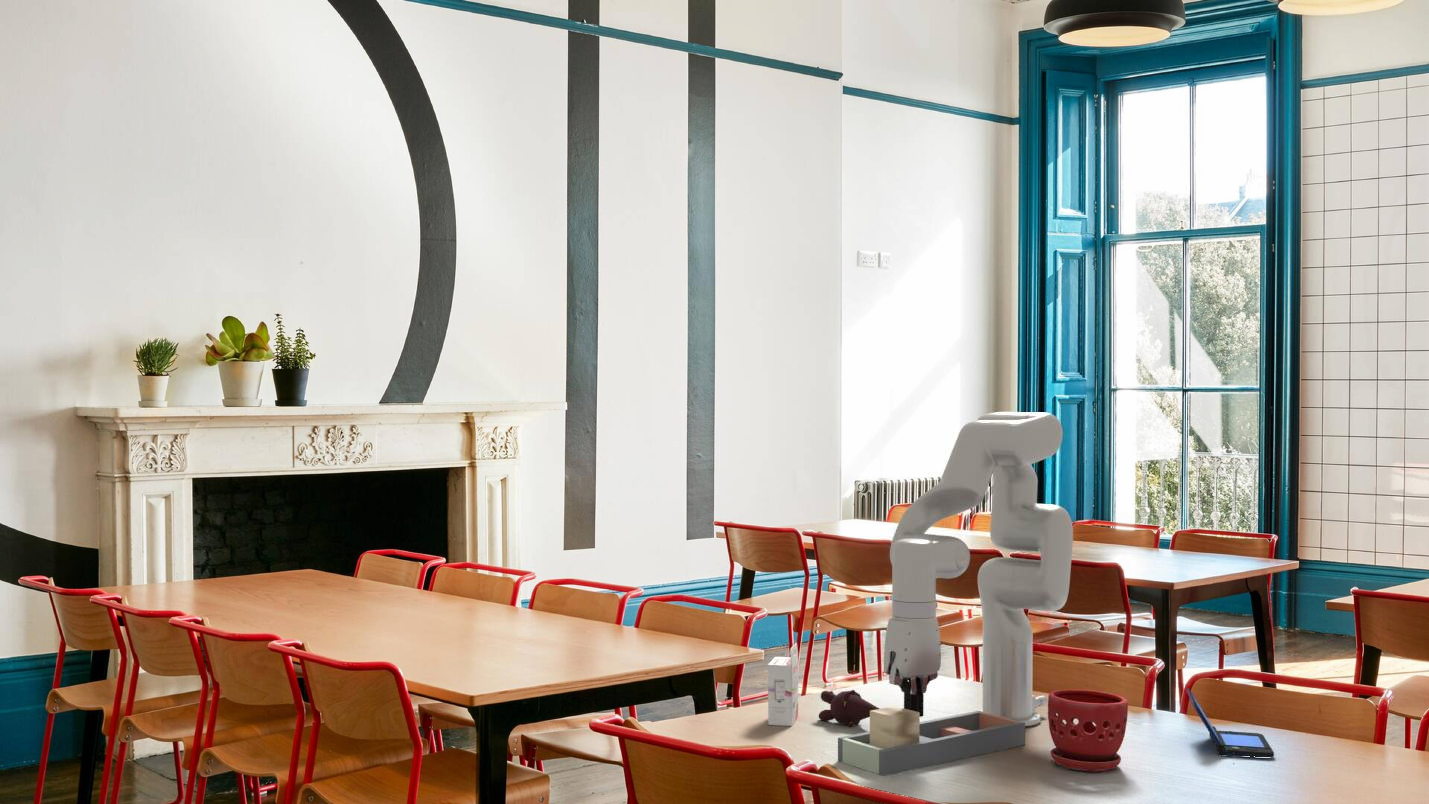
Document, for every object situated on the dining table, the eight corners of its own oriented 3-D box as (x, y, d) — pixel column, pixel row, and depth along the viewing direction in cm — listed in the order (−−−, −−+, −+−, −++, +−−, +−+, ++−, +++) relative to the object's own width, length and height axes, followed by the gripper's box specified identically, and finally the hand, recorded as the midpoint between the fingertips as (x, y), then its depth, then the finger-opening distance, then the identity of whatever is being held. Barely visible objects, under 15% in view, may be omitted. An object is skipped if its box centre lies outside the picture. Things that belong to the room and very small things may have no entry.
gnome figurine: (895, 694, 253) (833, 689, 263) (871, 690, 248) (809, 685, 258) (892, 731, 251) (830, 725, 262) (868, 728, 246) (806, 721, 257)
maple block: (894, 740, 233) (894, 706, 233) (919, 747, 228) (919, 712, 228) (869, 745, 229) (869, 710, 229) (894, 752, 225) (894, 717, 225)
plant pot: (1115, 779, 218) (1115, 706, 218) (1037, 768, 225) (1037, 697, 225) (1136, 762, 229) (1136, 692, 229) (1061, 751, 236) (1061, 683, 236)
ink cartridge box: (773, 715, 263) (774, 640, 263) (798, 716, 262) (799, 641, 262) (766, 725, 254) (767, 648, 254) (792, 726, 253) (792, 649, 253)
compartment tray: (977, 732, 250) (977, 710, 250) (1025, 744, 240) (1025, 722, 240) (837, 760, 229) (837, 737, 229) (883, 775, 220) (884, 751, 220)
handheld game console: (1275, 761, 231) (1275, 708, 231) (1193, 756, 234) (1193, 703, 234) (1262, 740, 246) (1262, 690, 246) (1185, 735, 249) (1185, 685, 249)
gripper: (928, 604, 239) (928, 706, 239) (867, 611, 230) (867, 717, 230) (959, 609, 233) (959, 713, 233) (898, 616, 224) (897, 725, 224)
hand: (913, 715), depth 232 cm, fingers closed
